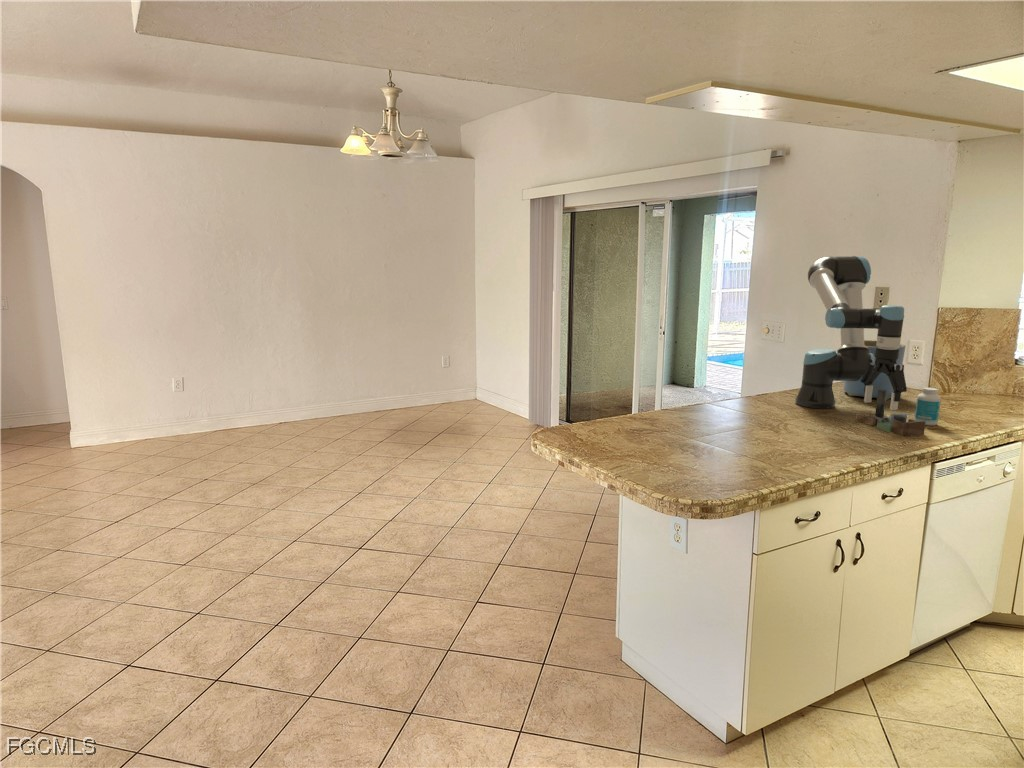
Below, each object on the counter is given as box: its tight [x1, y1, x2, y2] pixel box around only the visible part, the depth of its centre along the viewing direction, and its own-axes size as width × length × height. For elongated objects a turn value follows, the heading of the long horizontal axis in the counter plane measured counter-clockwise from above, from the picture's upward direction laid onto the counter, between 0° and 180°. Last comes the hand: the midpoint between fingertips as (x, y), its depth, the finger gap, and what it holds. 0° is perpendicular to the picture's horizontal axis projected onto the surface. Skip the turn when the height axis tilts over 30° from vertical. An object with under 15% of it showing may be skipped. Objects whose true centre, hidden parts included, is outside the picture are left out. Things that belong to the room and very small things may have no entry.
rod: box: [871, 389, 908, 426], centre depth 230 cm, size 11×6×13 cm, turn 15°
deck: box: [876, 422, 892, 433], centre depth 228 cm, size 6×10×2 cm, turn 105°
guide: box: [855, 412, 876, 426], centre depth 237 cm, size 8×7×2 cm
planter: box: [843, 339, 906, 401], centre depth 280 cm, size 23×23×24 cm
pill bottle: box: [914, 387, 942, 426], centre depth 234 cm, size 8×7×14 cm
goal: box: [890, 418, 926, 437], centre depth 222 cm, size 6×8×5 cm
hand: (880, 405), depth 233 cm, fingers open, 11 cm apart
